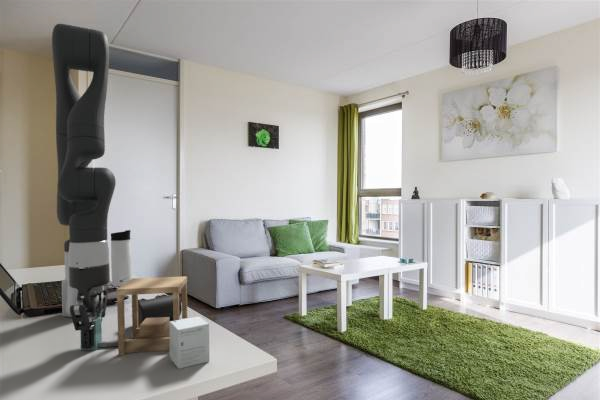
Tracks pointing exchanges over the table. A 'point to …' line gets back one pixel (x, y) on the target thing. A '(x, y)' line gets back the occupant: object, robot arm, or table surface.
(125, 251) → the travel mug
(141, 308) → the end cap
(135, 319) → the shelf lane
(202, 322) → the product box
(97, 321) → the corded block
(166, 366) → the table surface
